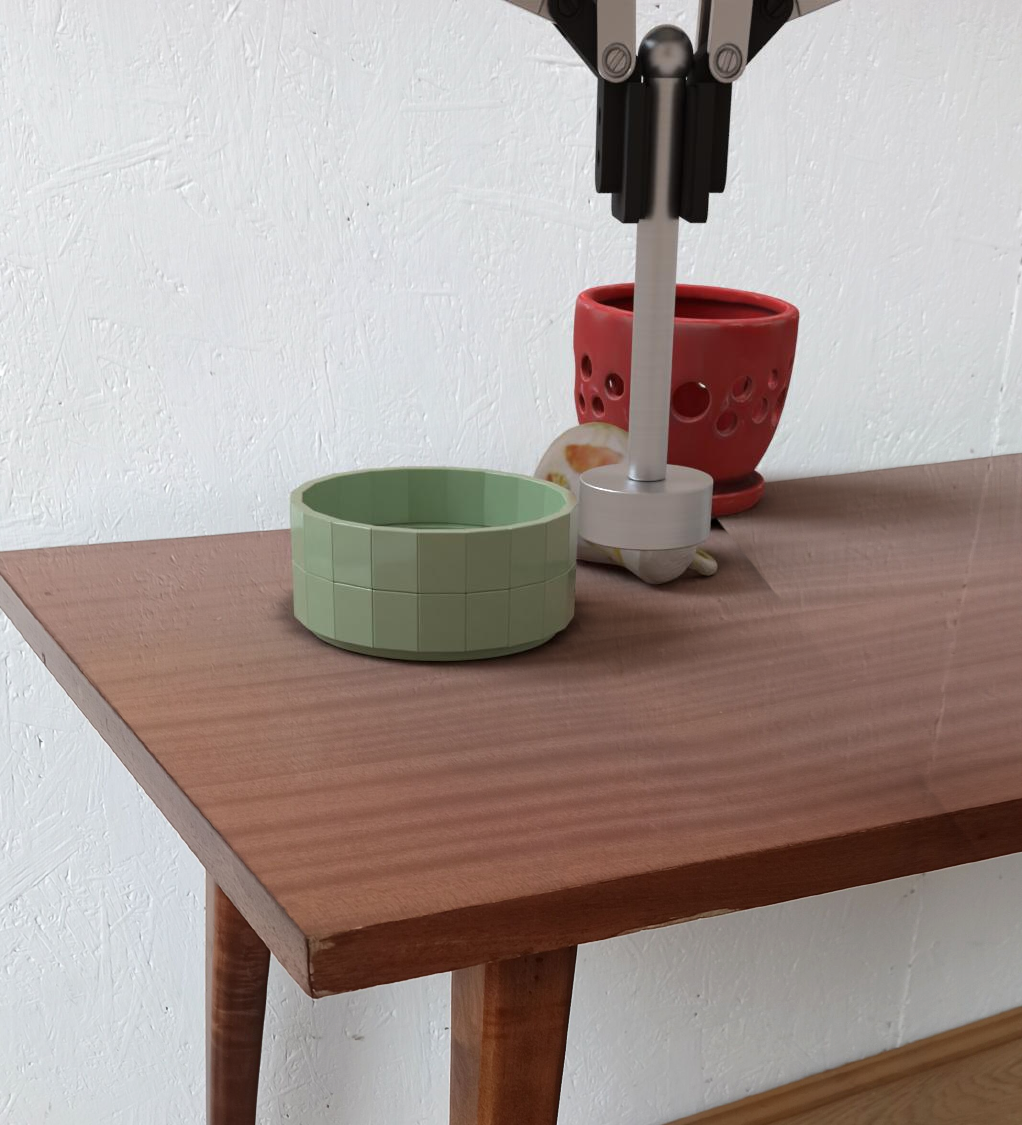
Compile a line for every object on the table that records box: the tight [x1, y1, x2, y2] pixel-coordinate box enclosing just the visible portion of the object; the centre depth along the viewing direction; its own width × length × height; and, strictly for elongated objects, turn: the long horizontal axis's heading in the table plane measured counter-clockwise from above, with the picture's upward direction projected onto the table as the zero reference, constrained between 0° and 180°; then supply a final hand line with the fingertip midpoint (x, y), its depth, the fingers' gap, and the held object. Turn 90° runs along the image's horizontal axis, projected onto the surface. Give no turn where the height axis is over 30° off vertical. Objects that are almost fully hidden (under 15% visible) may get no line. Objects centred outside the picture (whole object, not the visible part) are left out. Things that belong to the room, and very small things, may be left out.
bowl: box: [289, 465, 579, 662], centre depth 85 cm, size 14×14×6 cm
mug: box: [532, 422, 718, 585], centre depth 95 cm, size 8×10×10 cm
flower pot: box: [572, 282, 800, 521], centre depth 105 cm, size 13×13×12 cm
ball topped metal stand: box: [578, 23, 713, 551], centre depth 60 cm, size 5×5×16 cm
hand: (658, 215), depth 59 cm, fingers closed on ball topped metal stand, 1 cm apart
